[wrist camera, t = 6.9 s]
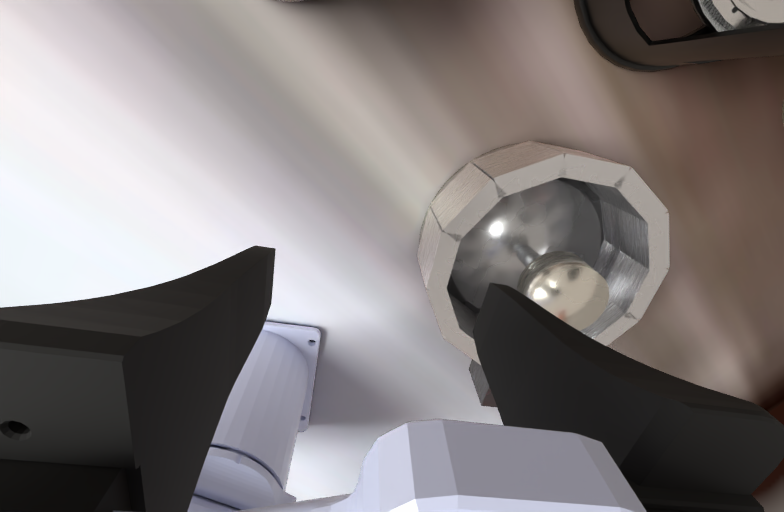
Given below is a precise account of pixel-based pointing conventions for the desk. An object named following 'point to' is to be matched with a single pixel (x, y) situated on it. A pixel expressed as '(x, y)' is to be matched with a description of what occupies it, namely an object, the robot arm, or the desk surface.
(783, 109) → the sage mug
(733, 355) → the desk surface
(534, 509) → the robot arm
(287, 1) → the supplement bottle
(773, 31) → the french press
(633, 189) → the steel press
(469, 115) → the desk surface
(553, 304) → the plunger
